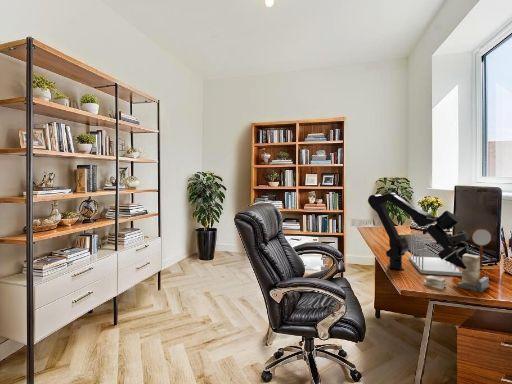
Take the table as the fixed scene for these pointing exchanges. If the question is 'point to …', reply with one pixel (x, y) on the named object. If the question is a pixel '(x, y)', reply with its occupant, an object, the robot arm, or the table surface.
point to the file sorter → (431, 261)
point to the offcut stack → (435, 282)
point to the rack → (480, 287)
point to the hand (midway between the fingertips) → (469, 266)
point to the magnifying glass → (481, 240)
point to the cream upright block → (471, 269)
